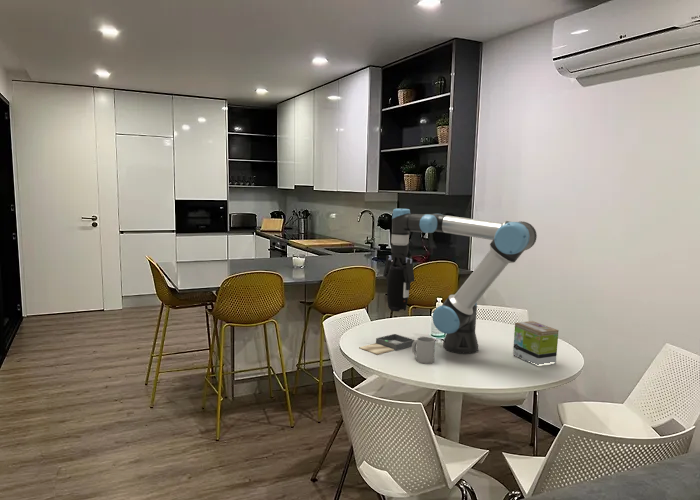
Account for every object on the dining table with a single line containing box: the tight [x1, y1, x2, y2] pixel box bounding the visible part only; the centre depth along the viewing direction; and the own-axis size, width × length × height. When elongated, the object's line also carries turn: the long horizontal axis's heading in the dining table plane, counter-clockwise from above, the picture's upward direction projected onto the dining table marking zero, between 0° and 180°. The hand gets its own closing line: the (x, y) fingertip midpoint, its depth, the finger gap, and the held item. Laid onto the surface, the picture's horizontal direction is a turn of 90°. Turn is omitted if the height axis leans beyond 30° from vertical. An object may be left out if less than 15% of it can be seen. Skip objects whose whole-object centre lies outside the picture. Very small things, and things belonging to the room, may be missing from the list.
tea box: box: [512, 320, 559, 365], centre depth 212 cm, size 15×10×15 cm
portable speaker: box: [386, 265, 409, 312], centre depth 226 cm, size 9×9×20 cm
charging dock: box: [375, 333, 415, 351], centre depth 228 cm, size 12×12×3 cm
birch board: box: [358, 342, 395, 356], centre depth 220 cm, size 11×10×1 cm
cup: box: [411, 336, 436, 365], centre depth 208 cm, size 7×10×9 cm
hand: (397, 295), depth 226 cm, fingers closed on portable speaker, 9 cm apart
